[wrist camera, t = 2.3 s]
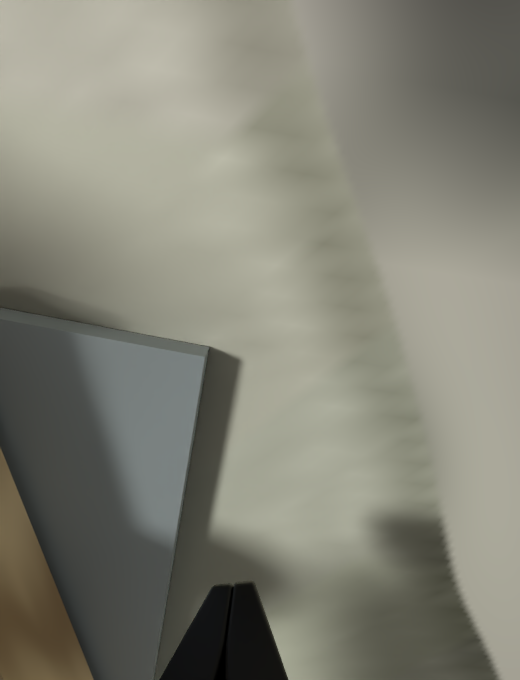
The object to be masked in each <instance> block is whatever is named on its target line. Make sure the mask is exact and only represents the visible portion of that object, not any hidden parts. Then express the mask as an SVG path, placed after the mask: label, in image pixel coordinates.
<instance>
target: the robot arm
mask: <svg viewBox="0 0 520 680" xmlns="http://www.w3.org/2000/svg"><path fill="white" fill-rule="evenodd" d="M160 680H288V677H287V674H286V672H285V669H284V666H283V663H282V660H281V657H280V654H279V651H278V648H277V646H276V643H275V640H274V637H273V634H272V631H271V628H270V625H269V622H268V620H267V617H266V614H265V611H264V608H263V605H262V602H261V599H260V596H259V594H258V591H257V588H256V585H255V583H254V582H253V581H246V582H237V583H235V585H233V584H230V583H228V584H220V585H215V586H213V587H212V588H211V590H210V592H209V593H208V595H207V597H206V599H205V600H204V602H203V604H202V606H201V607H200V609H199V611H198V613H197V615H196V616H195V618H194V620H193V622H192V623H191V625H190V627H189V629H188V630H187V632H186V634H185V636H184V637H183V639H182V641H181V643H180V645H179V646H178V648H177V650H176V652H175V653H174V655H173V657H172V659H171V660H170V662H169V664H168V666H167V667H166V669H165V671H164V673H163V675H162V676H161V678H160Z"/></svg>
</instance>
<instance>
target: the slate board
mask: <svg viewBox="0 0 520 680" xmlns="http://www.w3.org/2000/svg"><path fill="white" fill-rule="evenodd" d="M208 351H209V347H208V346H202V345H197V344H192V343H186V342H181V341H176V340H170V339H165V338H159V337H154V336H149V335H143V334H138V333H133V332H127V331H122V330H117V329H111V328H106V327H101V326H95V325H90V324H85V323H79V322H74V321H69V320H63V319H58V318H53V317H47V316H42V315H37V314H31V313H26V312H21V311H15V310H10V309H5V308H0V448H1V450H2V453H3V455H4V457H5V460H6V462H7V465H8V467H9V470H10V472H11V475H12V477H13V480H14V482H15V485H16V487H17V490H18V492H19V495H20V497H21V500H22V502H23V505H24V507H25V510H26V512H27V515H28V517H29V520H30V522H31V525H32V527H33V530H34V532H35V535H36V537H37V540H38V542H39V545H40V547H41V550H42V552H43V555H44V557H45V560H46V562H47V564H48V567H49V569H50V572H51V574H52V577H53V579H54V582H55V584H56V587H57V589H58V592H59V594H60V597H61V599H62V602H63V604H64V607H65V609H66V612H67V614H68V617H69V619H70V622H71V624H72V627H73V629H74V632H75V634H76V637H77V639H78V642H79V644H80V647H81V649H82V652H83V654H84V657H85V659H86V662H87V664H88V667H89V669H90V672H91V674H92V676H93V679H94V680H154V675H155V669H156V663H157V657H158V651H159V645H160V639H161V633H162V627H163V621H164V615H165V609H166V603H167V597H168V591H169V585H170V579H171V573H172V567H173V561H174V555H175V549H176V543H177V537H178V531H179V525H180V519H181V513H182V507H183V501H184V495H185V489H186V483H187V477H188V471H189V465H190V459H191V453H192V447H193V441H194V435H195V429H196V423H197V417H198V411H199V405H200V399H201V393H202V387H203V381H204V375H205V369H206V363H207V357H208Z"/></svg>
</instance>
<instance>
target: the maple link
mask: <svg viewBox="0 0 520 680" xmlns="http://www.w3.org/2000/svg"><path fill="white" fill-rule="evenodd" d="M0 680H94V679H93V676H92V674H91V672H90V669H89V667H88V664H87V662H86V659H85V657H84V654H83V652H82V649H81V647H80V644H79V642H78V639H77V637H76V634H75V632H74V629H73V627H72V624H71V622H70V619H69V617H68V614H67V612H66V609H65V607H64V604H63V602H62V599H61V597H60V594H59V592H58V589H57V587H56V584H55V582H54V579H53V577H52V574H51V572H50V569H49V567H48V564H47V562H46V560H45V557H44V555H43V552H42V550H41V547H40V545H39V542H38V540H37V537H36V535H35V532H34V530H33V527H32V525H31V522H30V520H29V517H28V515H27V512H26V510H25V507H24V505H23V502H22V500H21V497H20V495H19V492H18V490H17V487H16V485H15V482H14V480H13V477H12V475H11V472H10V470H9V467H8V465H7V462H6V460H5V457H4V455H3V453H2V450H1V448H0Z"/></svg>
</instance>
